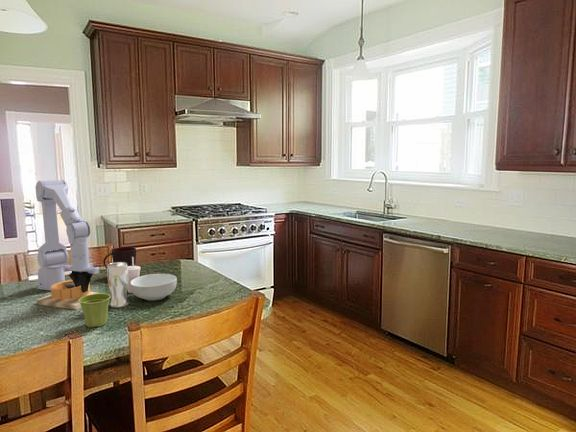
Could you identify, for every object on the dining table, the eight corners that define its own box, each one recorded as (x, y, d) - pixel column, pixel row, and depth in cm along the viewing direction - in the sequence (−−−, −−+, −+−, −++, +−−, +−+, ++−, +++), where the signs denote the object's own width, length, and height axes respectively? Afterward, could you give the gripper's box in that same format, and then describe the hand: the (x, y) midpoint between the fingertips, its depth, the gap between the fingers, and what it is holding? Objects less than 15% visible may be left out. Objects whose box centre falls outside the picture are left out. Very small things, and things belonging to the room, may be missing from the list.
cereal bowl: (153, 288, 174) (153, 271, 173) (186, 293, 167) (185, 276, 166) (121, 300, 159) (120, 282, 158) (155, 307, 152) (154, 288, 151)
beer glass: (117, 309, 150) (115, 267, 148) (105, 305, 154) (102, 265, 152) (134, 303, 156) (131, 263, 154) (121, 300, 160) (119, 260, 157)
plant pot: (73, 326, 135) (71, 300, 134) (97, 316, 144) (95, 291, 142) (95, 331, 131) (93, 304, 130) (118, 321, 140) (117, 295, 139)
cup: (140, 275, 191) (139, 249, 189) (108, 281, 182) (106, 254, 181) (132, 271, 199) (131, 245, 197) (101, 276, 190) (99, 250, 188)
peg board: (36, 303, 155) (35, 287, 154) (67, 292, 169) (66, 276, 168) (76, 309, 150) (74, 292, 149) (104, 297, 163) (103, 281, 162)
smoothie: (136, 294, 166) (134, 259, 164) (121, 293, 167) (119, 258, 165) (144, 289, 172) (143, 255, 170) (130, 288, 173) (128, 254, 171)
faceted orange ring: (43, 297, 155) (42, 288, 154) (70, 287, 167) (70, 278, 166) (71, 301, 151) (70, 291, 151) (97, 290, 163) (96, 281, 162)
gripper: (104, 254, 156) (106, 290, 158) (72, 251, 161) (75, 286, 163) (89, 258, 150) (92, 295, 152) (57, 255, 154) (60, 291, 156)
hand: (82, 291), depth 157 cm, fingers closed on faceted orange ring, 2 cm apart
